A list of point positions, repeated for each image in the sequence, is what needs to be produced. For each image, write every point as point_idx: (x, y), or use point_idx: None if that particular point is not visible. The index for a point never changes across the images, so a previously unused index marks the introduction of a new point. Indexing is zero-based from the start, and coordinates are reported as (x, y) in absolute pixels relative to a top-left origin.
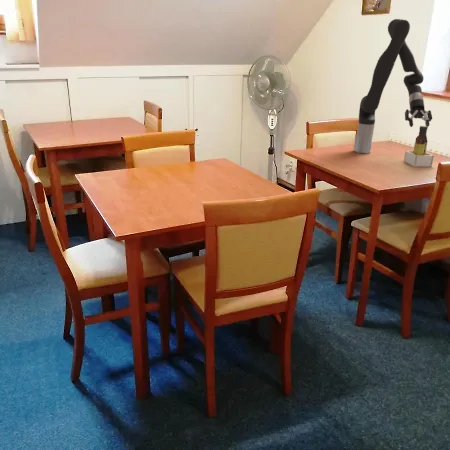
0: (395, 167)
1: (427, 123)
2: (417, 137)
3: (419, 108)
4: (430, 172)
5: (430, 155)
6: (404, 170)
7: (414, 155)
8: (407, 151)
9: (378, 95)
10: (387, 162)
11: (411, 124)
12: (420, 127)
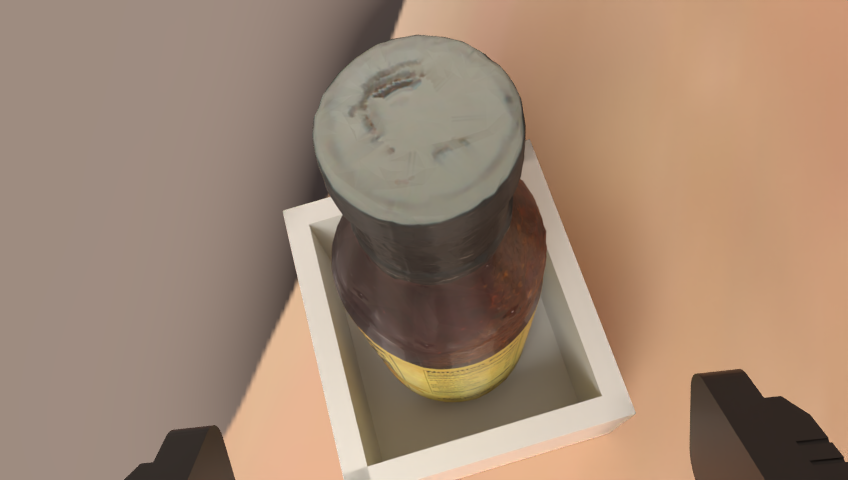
0: (737, 113)
1: (180, 477)
2: (531, 203)
3: None
4: (405, 26)
5: (328, 203)
6: (652, 29)
7: (542, 175)
8: (611, 370)
9: None
10: (826, 312)
11: (755, 399)
12: (515, 97)
